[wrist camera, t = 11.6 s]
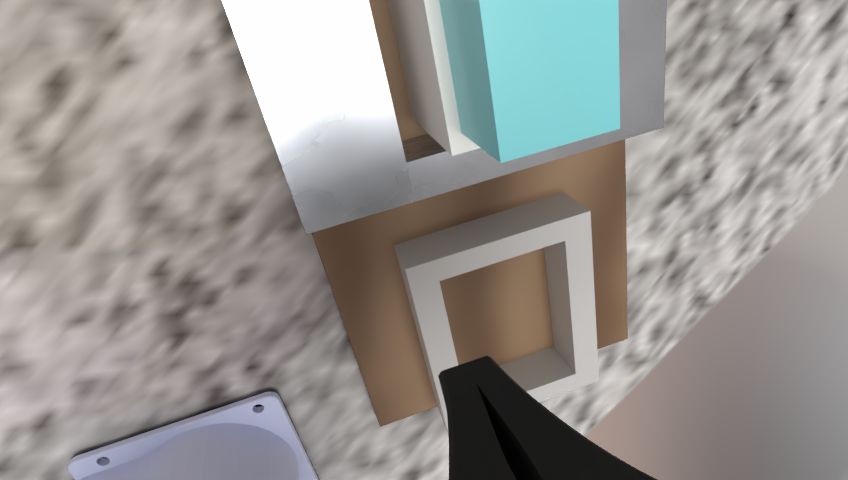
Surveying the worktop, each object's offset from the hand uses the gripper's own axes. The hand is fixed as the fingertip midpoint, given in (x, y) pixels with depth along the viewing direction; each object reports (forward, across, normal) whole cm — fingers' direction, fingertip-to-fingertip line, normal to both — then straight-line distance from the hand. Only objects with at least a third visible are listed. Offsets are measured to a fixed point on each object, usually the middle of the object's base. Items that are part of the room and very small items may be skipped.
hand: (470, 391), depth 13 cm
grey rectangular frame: (+10, -4, +5) cm, 12 cm away
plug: (+10, -4, -7) cm, 13 cm away
